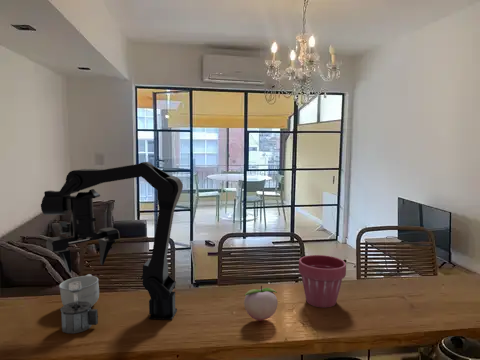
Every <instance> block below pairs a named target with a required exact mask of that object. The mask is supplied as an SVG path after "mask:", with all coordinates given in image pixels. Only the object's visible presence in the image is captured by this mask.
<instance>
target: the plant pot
mask: <svg viewBox="0 0 480 360" xmlns="http://www.w3.org/2000/svg"><path fill="white" fill-rule="evenodd" d="M298 273H299V274H300V275H301V280H302V285H303V291H304V295H305V301H306V302H307V303H308V304H309V305H311V306H313V307H316V308H331V307H334V306H335V305H336V304H337V301H338V297H339V293H340V289H341V286H342V282H343V279H344V278H346V276H347V263H346V262H345V261H344V260H343V259H341V258H338V257H335V256H333V255H331V256H330V255H321V254H314V255H313V254H312V255H305V256H302V257H300V258H299V259H298Z"/></svg>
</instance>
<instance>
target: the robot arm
mask: <svg viewBox="0 0 480 360" xmlns="http://www.w3.org/2000/svg"><path fill="white" fill-rule="evenodd" d="M135 178H142V179H144V180H145V182H147V183H148V184H149V185H150V186H151V187H152V188H154V189H155V190H156V191H157V192H156V194H157V195H156V196H157V197H156V198H157V199H156V200H157V204H158V214H157V222H156V226H155V233H154V240H153V246H152V253H151V258H148V259H147V261H145V262H144V264H143V265H142V274H141V277H140V280H142V286H143V287H144V289H145V290H146V291H147V292H148V295H149V297H150V299H149V300H148V309H149V310H148V311H149V312H148V313H149V317H148V318H149V320H168V321H170V320H173V319H174V317H175V314H177V312H178V309H177V308H176V292H175V291H174V289H175V287H176V284H177V282H176V281H175V279H173V277H171V276H170V275H169V264H168V262H169V261H168V250H169V245H170V238H171V232H172V226H173V220H174V214H175V209H176V206H177V204H178V202H179V199H180V197H181V194H182V191H183V189H184V186H183V185H184V184H183V182H182V180H181V179H180V178H178V176H174V175H169V174H168V173H167V172H166V171H163V170H162V169H160V168H158V167H157V166H155V165H154V164H153V163H152V162H149V161H142V162H139V163H135V164H131V165H123V166H118V167H111V168H105V169H103V168H101V169H100V168H99V169H98V168H80V169H73V170H71V171H69V172H68V173H67V175H66V177H65V183H63V185H62V187H61V188H60V189H59V190H46V191H44V193H43V194H44V196H43V197H42V200H41V204H40V208H41V211H42V214H43V215H45V216H55V215H57V216H59V215H60V216H61V215H62V216H63V215H68V214H69V212H71V217H69V218H70V219H69V223H68V221H63V222H59V223H58V234H59V235H58V236H54V237H48V238H47V240H46V243H45V244H46V249H47V250H49V251H51V252H52V253H53V252H54V253H56V254H58V255H59V256H60V258H61V260H62V261H63V263H64V265H65V268H66V270H67V272H68V273H69V274H70V273H72V258H71V257H72V256H71V250H70V249H68V248H69V246H70V245H76V244H80V243H85V242H91V241H97V242H98V245H99V261H100V262H99V263H100V265H101V266H104V265H105V263H106V259H107V257H108V254H109V252H110V250H111V248H112V246H113V244H115V243H116V242H117V240H120V239H121V236H120V231H119V230H118V229H117V228H114V227H105V228H104V227H103V228H99V229H98V231H95V222H96V220H97V219H96V217H94V215H95V214H94V202H93V201H94V200H93V199H97V198H99V197H101V194H100V193H99V192H98V191H96V190H95V189H94V188H93V187H96V186H98V185H99V186H100V185H101V184H103V183H104V184H105V183H110V182H117V181H124V180H130V179H135ZM90 188H92V189H90ZM86 189H89V190H88V191H83V190H86ZM76 193H77V194H76ZM72 194H76V195H72ZM61 235H66V237H64V236H61Z"/></svg>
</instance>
